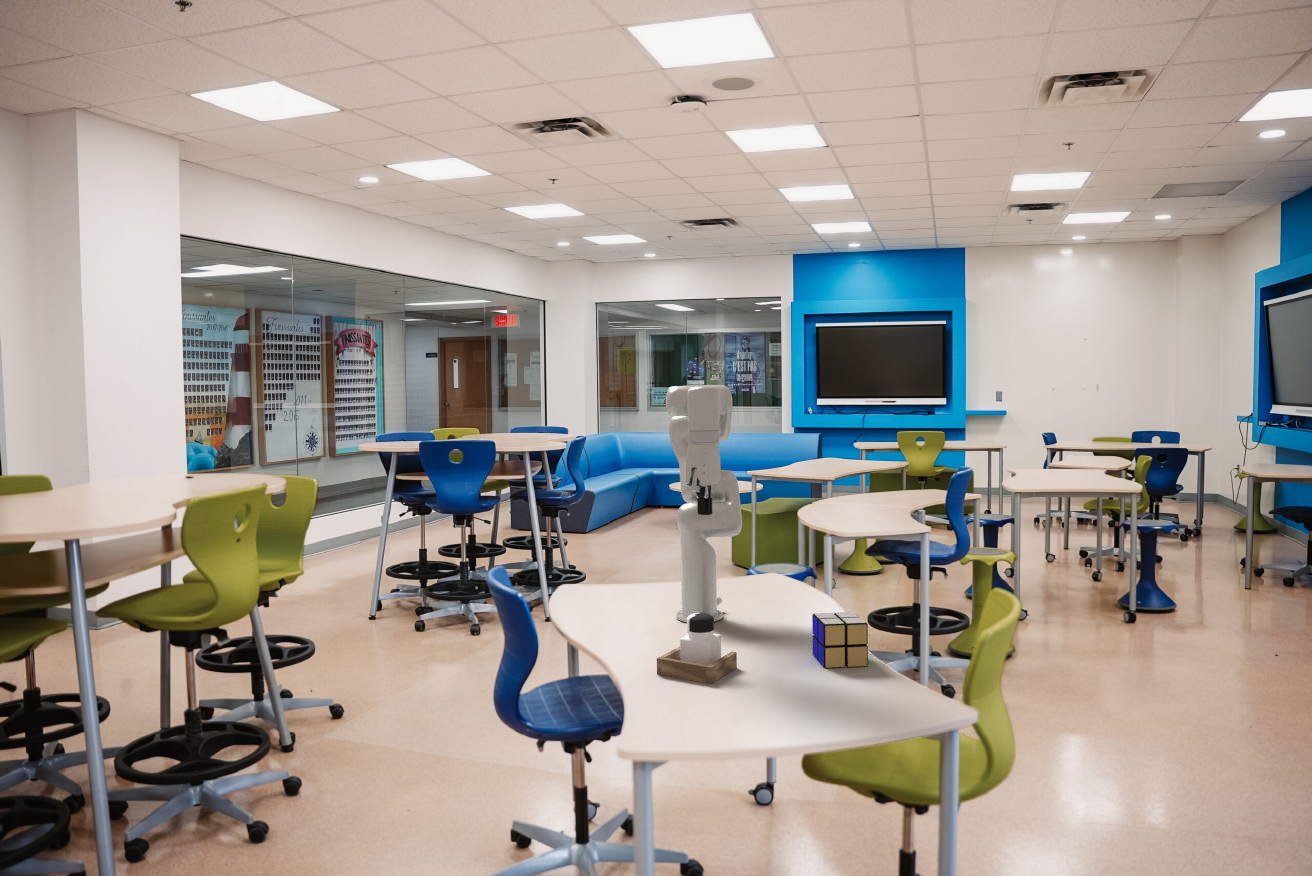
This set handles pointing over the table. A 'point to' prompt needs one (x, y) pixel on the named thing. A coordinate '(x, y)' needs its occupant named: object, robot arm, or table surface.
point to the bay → (695, 667)
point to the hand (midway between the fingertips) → (704, 514)
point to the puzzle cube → (840, 640)
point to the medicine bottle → (700, 640)
